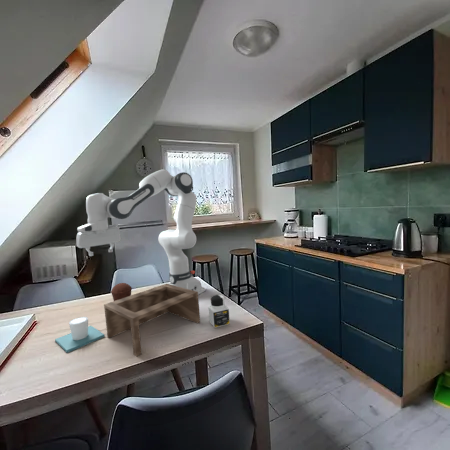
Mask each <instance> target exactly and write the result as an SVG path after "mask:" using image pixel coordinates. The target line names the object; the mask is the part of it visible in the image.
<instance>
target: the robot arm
mask: <svg viewBox="0 0 450 450" xmlns="http://www.w3.org/2000/svg"><path fill="white" fill-rule="evenodd" d="M193 184H194V181H193V177H192V175H190V174H189V173H188V172H179V173H177V174H176V175H174V176H173V175H172V174H171V173H170V172H169V171H168V170H166V169H163V168H162V169H159V170H156V171H154V172H152V173H150V174H148V175H147V176H145V177H144V178H142V180H140V181H139V184H138V187H139V188H137V190H135V191H133V192H132V193H130V194H129V195H128V196H125V197H118V198H113V197H110V196H108V195H105V194H104V193H103V192H97V193H92V194H89V195H87V197H86V200H85V209H86V214H87V223H85V224H84V225H83V224H82V225H81V226H78V227H77V229H76V230H77V234H76V236H75V237H76V241H75V242H76V247H77V248H79V249H85V250H86V252H88V256H89V257H93V256H94V251H91V247H98V246H103V245H104V246H105V245H109V246H110V247H109V248H108V249H107V250H108V253H113V249H114V247H115V244H116V243H117V244H118V243H121V240H122V238H121V232H120V226H119V225H117V224H109V221H108V219H109V218H111V219H119V220H124V219H127V218H129V217H130V216H131V215H132V214H133V211H134V210H135V208H136V207H137V206H139V205H140V204H142V203H143V202H145V201H146V200H147V199H149V198H151V197H154V196H156V195H159V193H160V192H162V191H165V192H166V193H167V194H168V195H169V196H170V197H178V199H177V204H176V207H175V211H174V213H173V221H174V222H175V223H176V229H167V230H163V231H161V232H160V233H159V235H158V239H157V240H158V244H159V245H160V246H161V247H162V248H163V250H164V252H165V254H166V256H167V259H168V266H169V275H168V276H169V277H168V278H169V282H170V285H174V286H177V287H181V288H185V289H189V290H193V291H197V292H198V296H199V295H201V294H203V293H204V292H205V291H207V288H205V287H203V286H202V283H201V280H199V279H198V278H196V277H194V276H193V275H194V274H195V272H196V271H195V270H190V268H189V266H190V264H189V258H188V256H187V255H186V254H185V253H184V251H183V250H188V249H191V248H194V246H195V245H196V243H197V236H196V235H197V234H195V232H194V230H193V220H194V215H195V210H196V207H197V195H196V194H195V193H194V192H193V191H194V185H193Z"/></svg>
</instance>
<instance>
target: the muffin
mask: <svg viewBox="0 0 450 450" xmlns="http://www.w3.org/2000/svg"><path fill="white" fill-rule="evenodd" d="M132 288H133V287H132V286H131V285H130V284H128V283H126V282H119V283H116V284H115V285H114V286H113V287H112V289H111V290H110V293H111V297H112V299H113V301H116V300H119V299H122V298H125V297H128V296H131V295H132Z"/></svg>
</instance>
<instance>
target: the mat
mask: <svg viewBox="0 0 450 450" xmlns="http://www.w3.org/2000/svg"><path fill="white" fill-rule="evenodd" d="M104 338H105V334H104V333H103V332H102V331H100V330H98V329H97V328H95V327H94V326H92V325H88V336H87V337H85V338H83V339H80V340H73V339H72V334H71V332H69V333H67V334H64V335H61V336H60V337H57V338H55V339H54V340H55V341H54V342H55V343H56V344H57V345H58V346H59V347H61V349H62V350H63V351H64V352H65V353H67V354H68V353H71V352H72V351H75V350H77V349H80V348H82V347H85V346H86V345H89V344H91V343H93V342H96V341H98V340H100V339H104Z"/></svg>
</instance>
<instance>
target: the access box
mask: <svg viewBox="0 0 450 450" xmlns="http://www.w3.org/2000/svg"><path fill="white" fill-rule="evenodd" d="M199 300H200V299H199V295H198V292H197V291H193V290H189V289H185V288H181V287H177V286H174V285H170V284H169V283H164V284H161V285H158V286H156V287H153V288H150V289H147V290H144V291H141V292H137V293H135V294H131V296H128V297H125V298H122V299H119V300H116V301H114V300H113V301H110V302H107V303H105V304H103V307H104V317H105V318H104V319H105V328H106V334H107V335H106V336H107V338H108V339H110V338H112V337H115V336H117V335H119V334H122V333H124V332H126V331H129V330H130V332H131V341H132V354H133V355H134V356H135V357H138V355H139V356H141V355H142V344H141V334H140V333H141V332H140V326H141V325H143V324H145V323H147V322H149V321H152V320H154V319H156V318H158V317H160V316H162V315H165V314H167V313H169V314H173V315H175V316H177V317H180V318H183V319H185V320H188V321H191V322H193V323H196V324H201V315H200V314H201V313H200V303H199V302H200V301H199Z"/></svg>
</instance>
